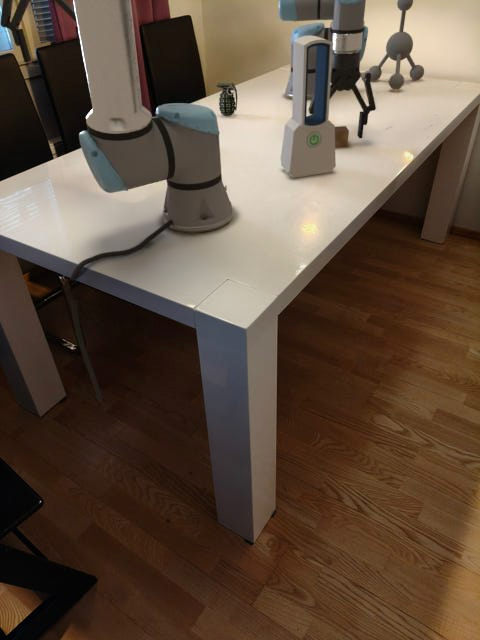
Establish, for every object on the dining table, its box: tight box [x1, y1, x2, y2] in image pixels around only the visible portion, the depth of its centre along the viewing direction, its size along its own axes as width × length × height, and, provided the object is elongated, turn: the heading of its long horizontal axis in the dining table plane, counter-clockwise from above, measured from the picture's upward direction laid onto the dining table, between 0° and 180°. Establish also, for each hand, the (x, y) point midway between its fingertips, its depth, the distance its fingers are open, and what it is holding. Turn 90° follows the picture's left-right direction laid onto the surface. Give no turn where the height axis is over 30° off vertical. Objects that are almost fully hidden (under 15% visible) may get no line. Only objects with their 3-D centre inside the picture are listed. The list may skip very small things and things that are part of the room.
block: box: [335, 125, 350, 149], centre depth 139 cm, size 4×4×5 cm
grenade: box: [215, 82, 238, 117], centre depth 166 cm, size 7×6×10 cm
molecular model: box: [367, 0, 425, 91], centre depth 184 cm, size 24×22×30 cm
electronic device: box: [280, 35, 336, 179], centre depth 117 cm, size 12×8×30 cm, turn 105°
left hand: (56, 59), depth 115 cm, fingers open, 13 cm apart
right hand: (339, 138), depth 139 cm, fingers open, 11 cm apart
